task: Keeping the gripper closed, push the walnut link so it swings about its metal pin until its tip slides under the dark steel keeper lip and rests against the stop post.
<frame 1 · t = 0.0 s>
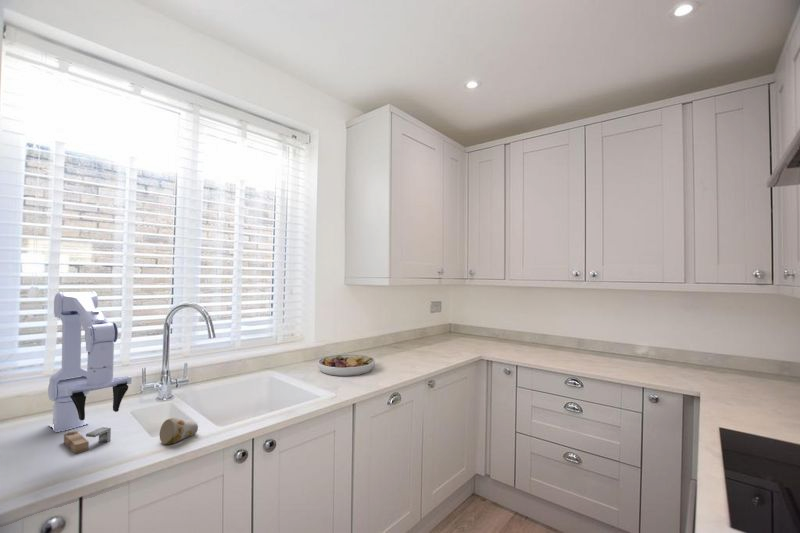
hand: (99, 414, 104), 10 cm above the worktop, tool pointing down, fingers open, 7 cm apart
link: (75, 440, 106), point 2 cm above the worktop, hinge at 0.0°
bowl: (346, 370, 195), on the worktop
keeper: (70, 442, 109), on the worktop
grey-brown rounded piece: (179, 440, 112), on the worktop
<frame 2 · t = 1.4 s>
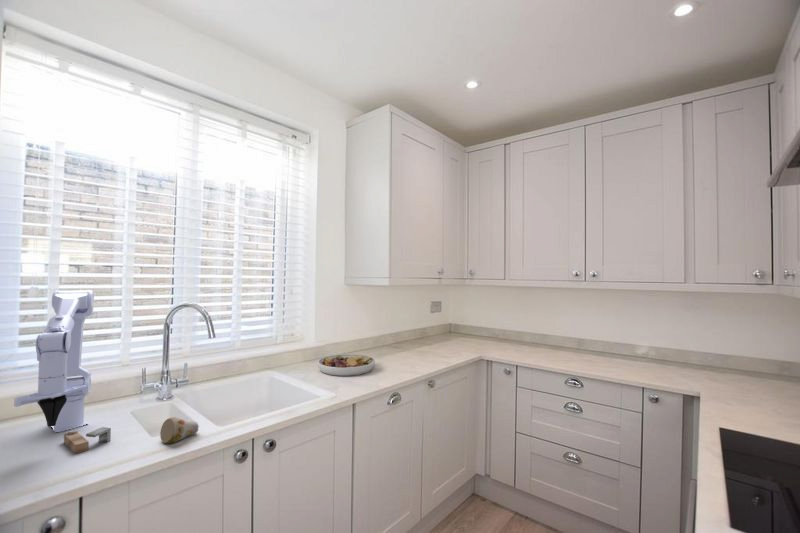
hand: (51, 425, 102), 8 cm above the worktop, tool pointing down, fingers closed
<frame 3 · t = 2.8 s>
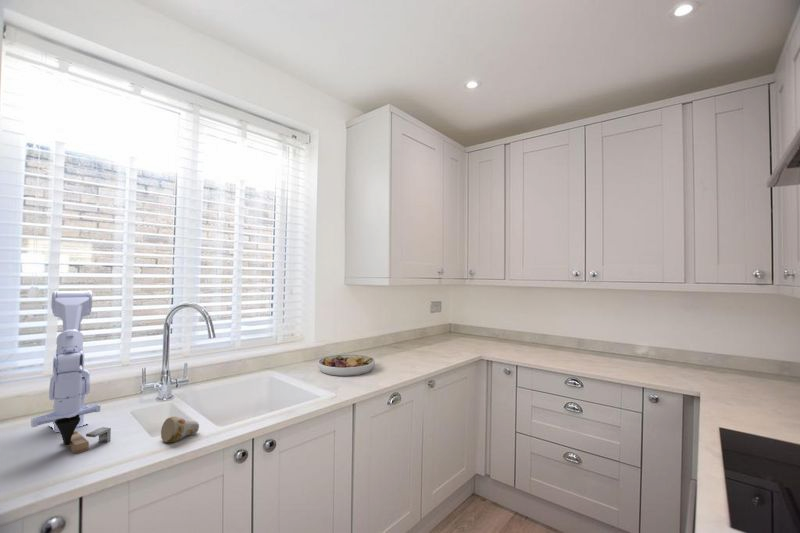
hand: (66, 444, 104), 2 cm above the worktop, tool pointing down, fingers closed
link: (75, 440, 106), point 2 cm above the worktop, hinge at 0.1°, touching gripper
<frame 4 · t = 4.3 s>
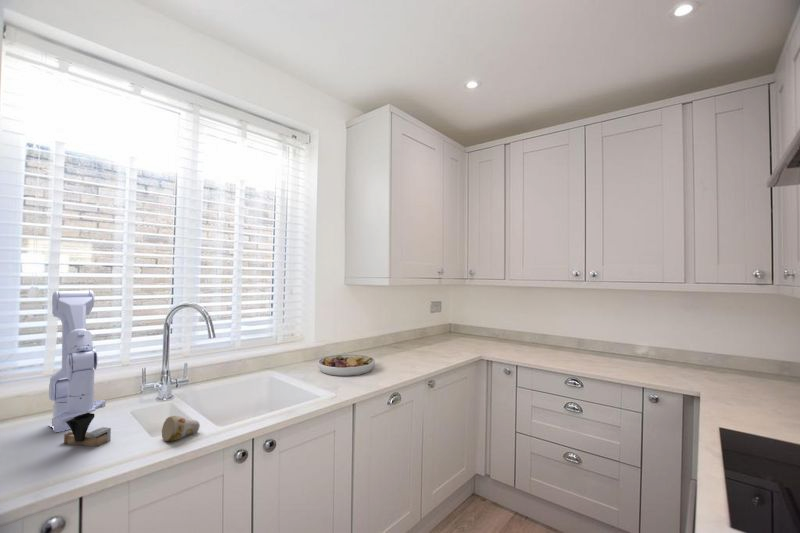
hand: (79, 441, 106), 2 cm above the worktop, tool pointing down, fingers closed
link: (84, 437, 108), point 2 cm above the worktop, hinge at 28.4°, touching gripper, keeper
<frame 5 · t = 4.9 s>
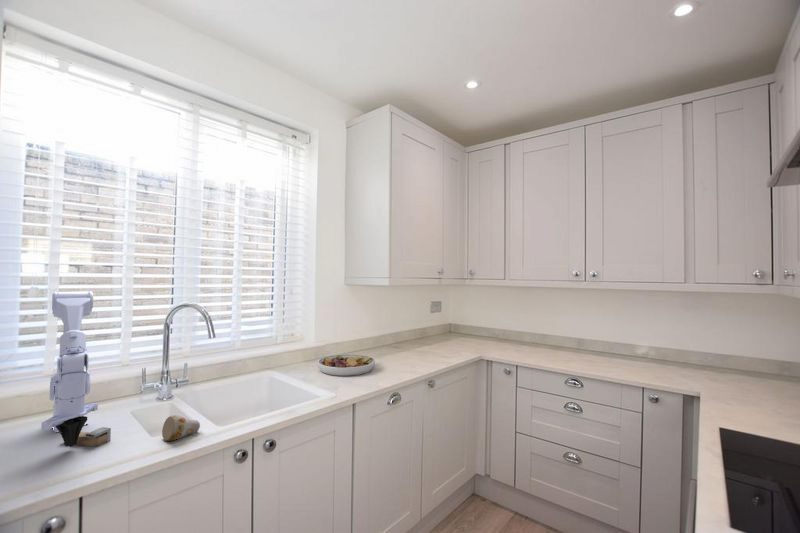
hand: (70, 445, 104), 2 cm above the worktop, tool pointing down, fingers closed
link: (84, 437, 108), point 2 cm above the worktop, hinge at 28.4°, touching keeper
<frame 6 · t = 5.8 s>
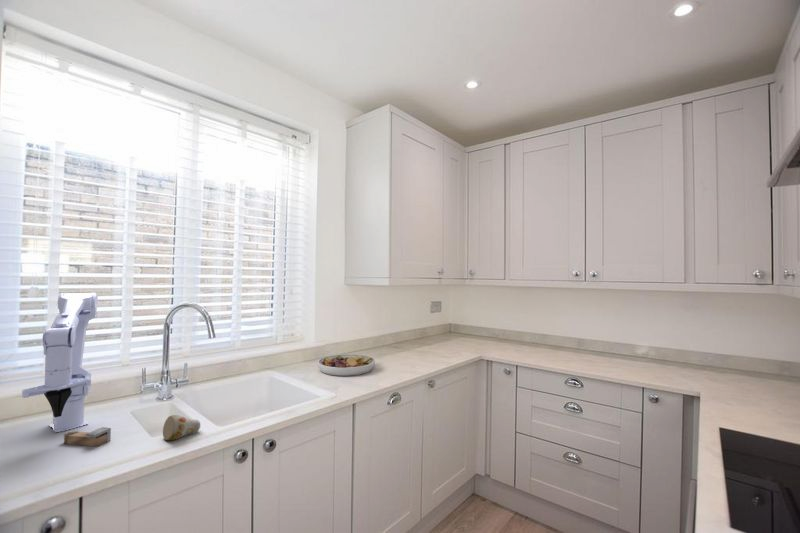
hand: (57, 416, 107), 8 cm above the worktop, tool pointing down, fingers closed
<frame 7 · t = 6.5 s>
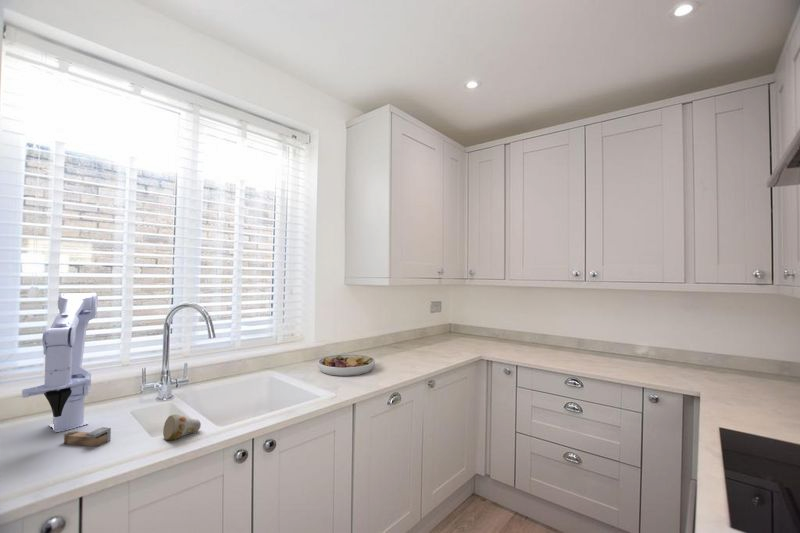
hand: (57, 416, 107), 8 cm above the worktop, tool pointing down, fingers closed
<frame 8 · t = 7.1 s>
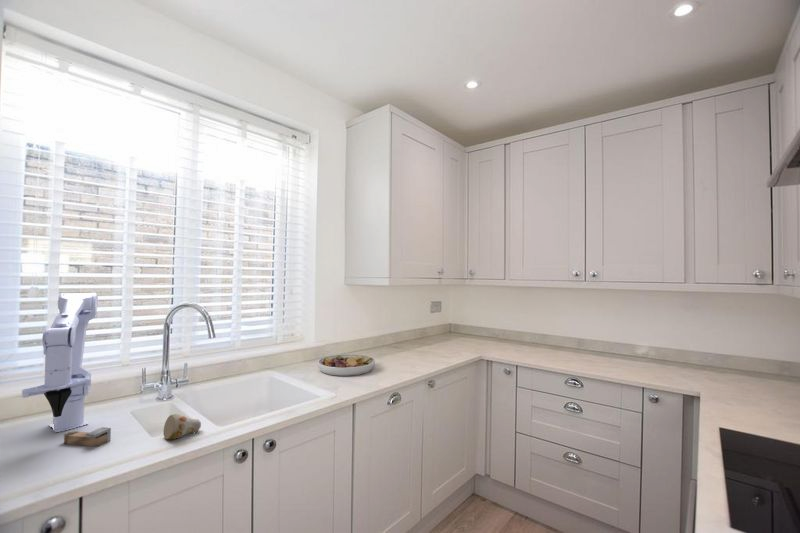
hand: (57, 416, 107), 8 cm above the worktop, tool pointing down, fingers closed
at the end: link at +28° (first picture: +0°); the gripper is holding nothing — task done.
